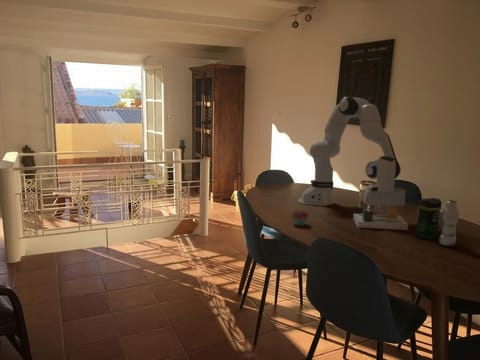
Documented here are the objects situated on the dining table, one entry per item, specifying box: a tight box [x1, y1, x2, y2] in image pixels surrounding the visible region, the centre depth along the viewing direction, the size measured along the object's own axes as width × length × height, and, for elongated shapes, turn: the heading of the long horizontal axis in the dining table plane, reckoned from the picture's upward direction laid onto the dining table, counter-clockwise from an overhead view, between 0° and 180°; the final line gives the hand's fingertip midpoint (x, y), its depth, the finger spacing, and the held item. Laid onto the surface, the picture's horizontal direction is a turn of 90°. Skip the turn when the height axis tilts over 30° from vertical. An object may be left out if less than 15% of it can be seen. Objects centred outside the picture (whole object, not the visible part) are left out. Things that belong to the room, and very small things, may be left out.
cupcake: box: [291, 202, 310, 227], centre depth 202 cm, size 9×8×12 cm
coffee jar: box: [415, 197, 442, 240], centre depth 184 cm, size 10×8×19 cm
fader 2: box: [386, 206, 399, 218], centre depth 208 cm, size 4×5×5 cm
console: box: [352, 213, 409, 231], centre depth 206 cm, size 24×16×3 cm, turn 82°
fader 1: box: [362, 208, 374, 221], centre depth 201 cm, size 4×5×5 cm
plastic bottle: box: [438, 199, 460, 247], centre depth 173 cm, size 6×7×20 cm
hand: (383, 213), depth 209 cm, fingers closed
